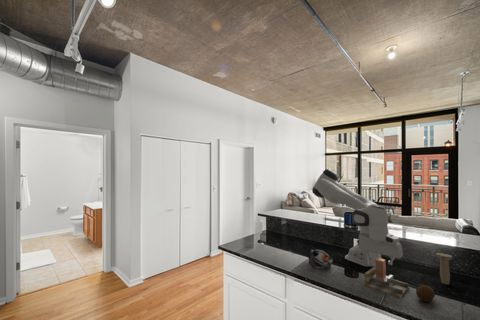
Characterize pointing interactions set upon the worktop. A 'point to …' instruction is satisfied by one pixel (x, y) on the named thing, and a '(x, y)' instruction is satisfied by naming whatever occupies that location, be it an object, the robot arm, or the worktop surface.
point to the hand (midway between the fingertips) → (380, 262)
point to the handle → (444, 267)
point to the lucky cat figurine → (319, 259)
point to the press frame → (395, 289)
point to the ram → (382, 273)
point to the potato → (425, 293)
